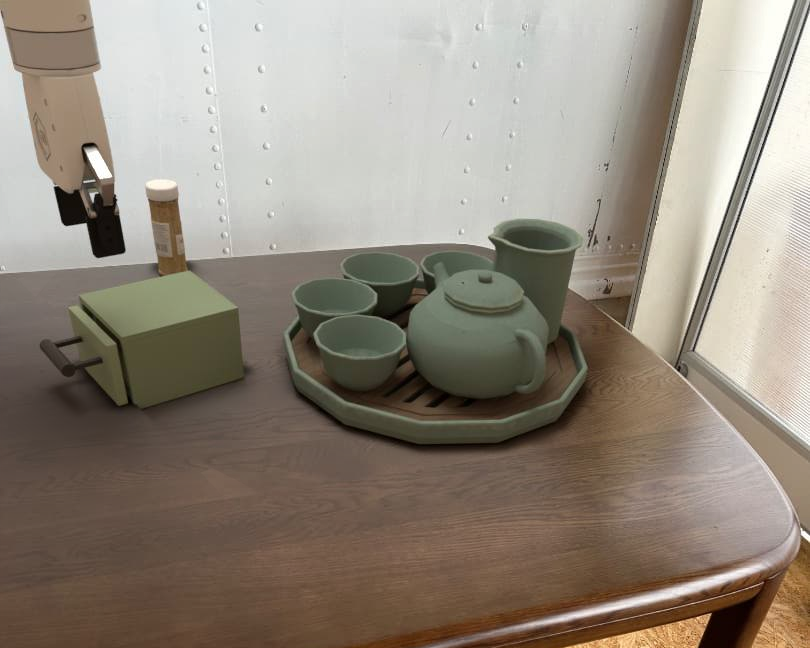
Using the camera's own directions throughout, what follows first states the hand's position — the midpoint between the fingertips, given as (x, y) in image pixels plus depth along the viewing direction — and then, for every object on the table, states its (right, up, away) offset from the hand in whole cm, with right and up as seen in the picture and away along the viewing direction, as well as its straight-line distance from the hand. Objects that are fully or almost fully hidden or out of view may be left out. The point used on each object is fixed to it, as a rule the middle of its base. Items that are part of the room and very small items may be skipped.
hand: (93, 238), depth 82 cm
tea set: (+36, -8, +24) cm, 44 cm away
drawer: (-1, -11, +16) cm, 19 cm away
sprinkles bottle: (-4, +10, +41) cm, 42 cm away
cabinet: (+2, -10, +18) cm, 21 cm away
